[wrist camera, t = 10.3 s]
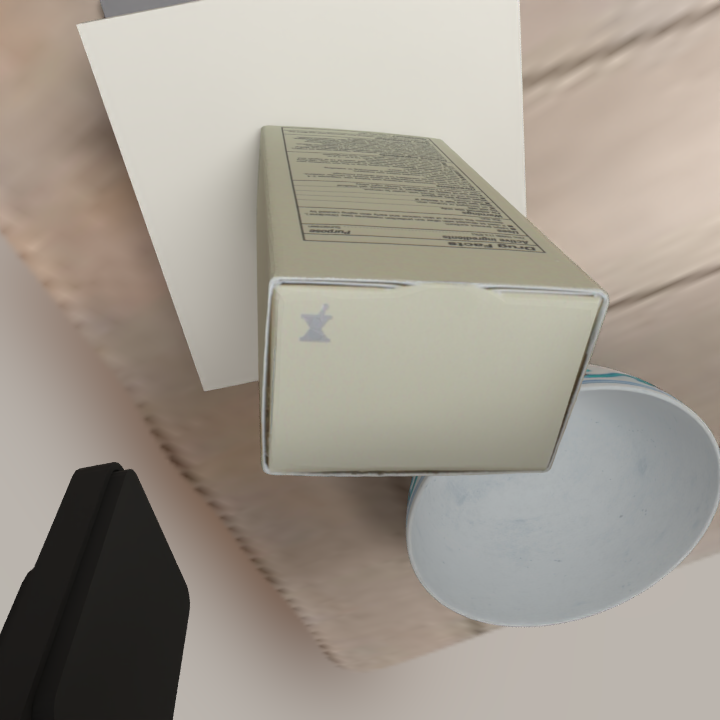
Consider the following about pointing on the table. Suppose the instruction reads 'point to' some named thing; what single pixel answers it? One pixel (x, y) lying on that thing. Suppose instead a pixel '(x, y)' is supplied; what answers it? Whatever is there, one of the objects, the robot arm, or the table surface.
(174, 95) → the display podium
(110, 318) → the table surface
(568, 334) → the skincare box
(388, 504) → the table surface
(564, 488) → the chinaware
